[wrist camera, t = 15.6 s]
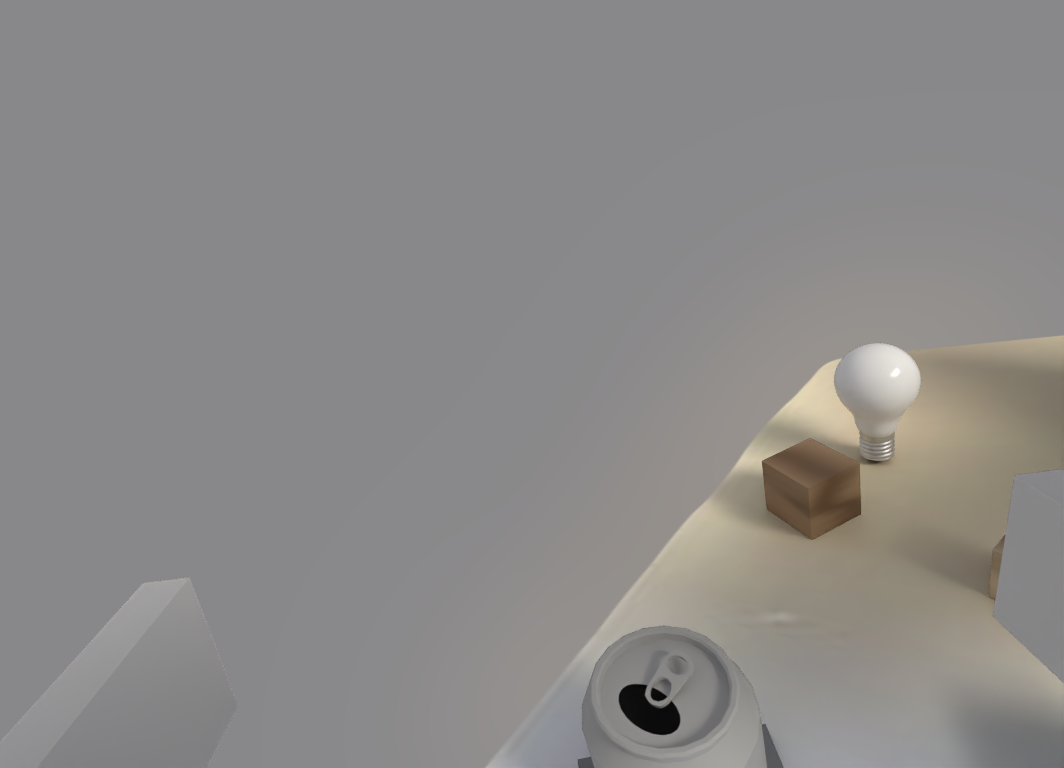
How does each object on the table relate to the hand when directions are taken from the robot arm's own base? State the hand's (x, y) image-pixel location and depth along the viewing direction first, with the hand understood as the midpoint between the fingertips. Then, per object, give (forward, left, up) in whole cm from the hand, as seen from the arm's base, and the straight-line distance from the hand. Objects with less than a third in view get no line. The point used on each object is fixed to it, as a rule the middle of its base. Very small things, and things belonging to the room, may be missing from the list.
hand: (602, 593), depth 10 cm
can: (-1, -10, -27) cm, 29 cm away
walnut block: (-17, -33, -28) cm, 47 cm away
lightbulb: (-25, -38, -28) cm, 53 cm away
